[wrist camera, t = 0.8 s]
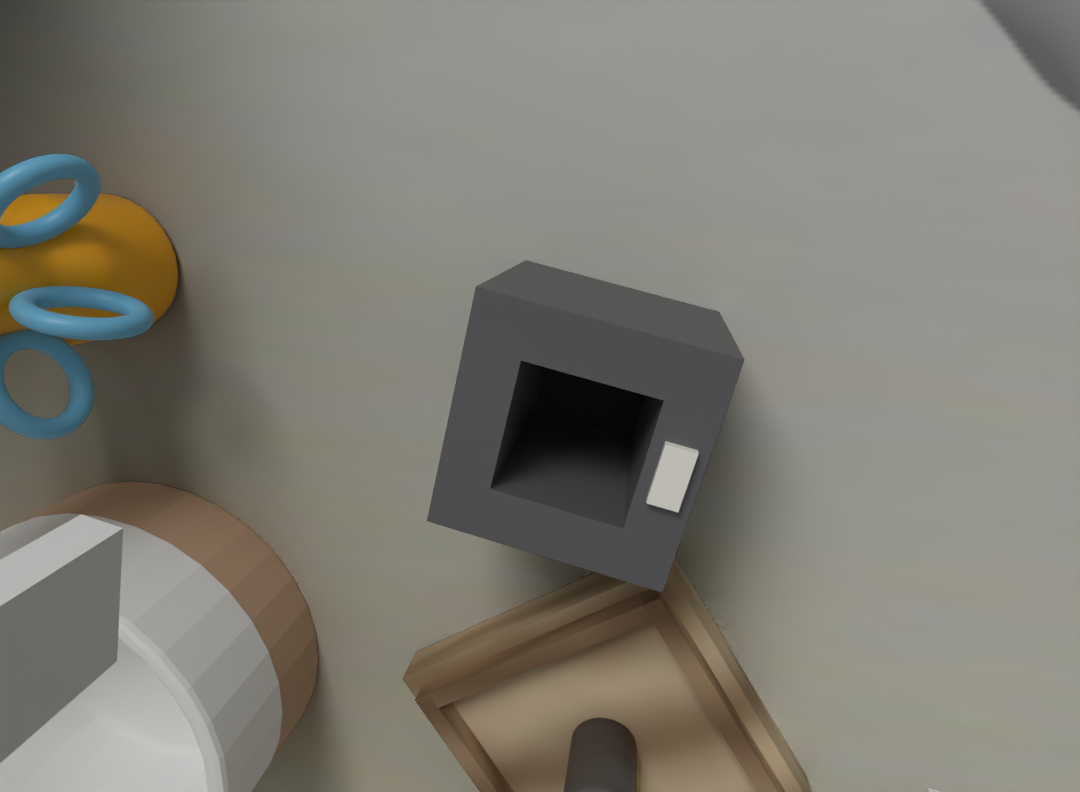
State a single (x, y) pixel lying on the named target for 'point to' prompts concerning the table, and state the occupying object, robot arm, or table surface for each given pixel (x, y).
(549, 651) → the plate
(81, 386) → the orange tube with rings
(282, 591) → the bowl
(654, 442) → the hollow dark grey cube
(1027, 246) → the table surface
